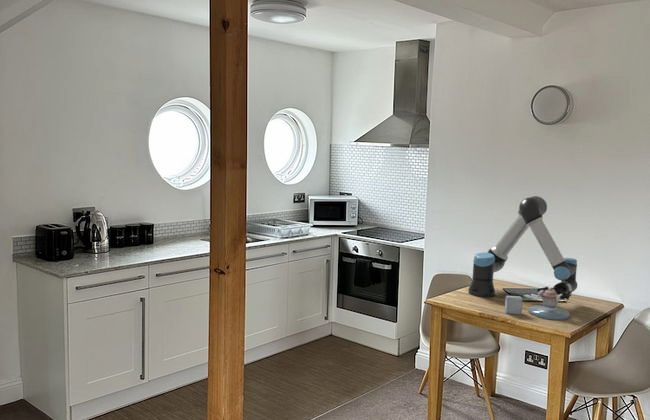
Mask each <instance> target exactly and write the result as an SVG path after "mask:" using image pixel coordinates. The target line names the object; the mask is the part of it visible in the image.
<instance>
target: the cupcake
mask: <svg viewBox="0 0 650 420" xmlns="http://www.w3.org/2000/svg"><path fill="white" fill-rule="evenodd" d="M549 288H550V289H549V290H546V291H545V292H544V293H543V296H541V297H540V298H541V300H542V304H543V305H542V306H545V307H549V308H555V307H556V308H557V305H558V303H559V301H556V298H557V296H558V294H557V293H556V291H555V290H554V289H552V288H553V287H549Z"/></svg>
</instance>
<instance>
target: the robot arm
mask: <svg viewBox="0 0 650 420" xmlns="http://www.w3.org/2000/svg"><path fill="white" fill-rule="evenodd" d="M547 210H548V204H547V201H546V200H545V199H544V198H543V197H541V196H538V195H534V196H530V197H525V198H524V199H523V200H521V202H520V203H519V206H518V211H517V213H518V215H517V216H516V218H515V219H514V220H513V222H512V223H511V224H510V226H509V227H508V228H507V230H506V232H504V234H503V235H502V236H501V238H500V239H499V240H498V242H497V244H495V245H494V246H491V247H490V248H489V249H488V250H487V252H478V253H476V254H474V257H473V267H472V278H471V279H472V280H471V282H470V285H469V287H468V294H469V295H471V296H476V297H482V298H485V297H487V298H491V297H495V296H496V289H495V286H494V273H497V272H499V271H500V270H502V269H503V268H504V266H505V264H506V262H507V260H508V259H509V258H508V257H509V256H508V255H509V254H510V252H511V251H512V250H513V248H514V247H515V246H516V244H517V243H518V242H519V240H520V239H521V238H522V237H523V235H524V234H525V233H526V231H527V230H528V229H529V228H530V230H531V233H532V234H533V235H534V237H535V239H536V241H537V242H538V245H539V246H540V248H541V250H542V251H543V254H544V255H545V257H546V258H547V259H546V260H547V261H548V262H549V264H550V265H551V268H552V269H553V276H554V278H555V279H557V280H559V281H560V282H557V283H556V284H554V286H553V287H549V286H544V287H540V288H537V292H536V293H537V297H536V298H541V296H543V293H544V292H545V291H546V290H549V289H550V288H552V289H554V290H555V291H556V293H557V294H558V296H557V298H556V301H558V302H559V301H562V300H565V299H566V300H570V297H571V296H572V293H573V292H575V291H576V290H577V288H578V282H577V269H578V268H577V267H578V260H577V259H575V258H573V257H572V258H571V257H563V254H562V253H561V250H560V249H559V247H558V246H557V244H556V242H555V240H554V238H553V237H552V235H551V232H549V230H548V228H547V225H546V224H545V222H544V221H543V215H545V214H546V212H547Z"/></svg>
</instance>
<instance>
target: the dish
mask: <svg viewBox="0 0 650 420" xmlns="http://www.w3.org/2000/svg"><path fill="white" fill-rule="evenodd" d="M528 313H529V314H530V315H532V316H534V317H537V318H540V319H545V320H551V321H564V320H568V319H569V318H570V313H569V311H567V310H565V309H563V308H559V307H557V306H556V307H555V308H549V307H545V306H544V305H533V306H530V307H528Z"/></svg>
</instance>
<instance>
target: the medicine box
mask: <svg viewBox="0 0 650 420" xmlns="http://www.w3.org/2000/svg"><path fill="white" fill-rule="evenodd" d="M504 303H505V304H504V313H505V314H509V315H510V314H511V315H522V310H523V298H522V296H520V295H519V296H517V295H505V302H504Z"/></svg>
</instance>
